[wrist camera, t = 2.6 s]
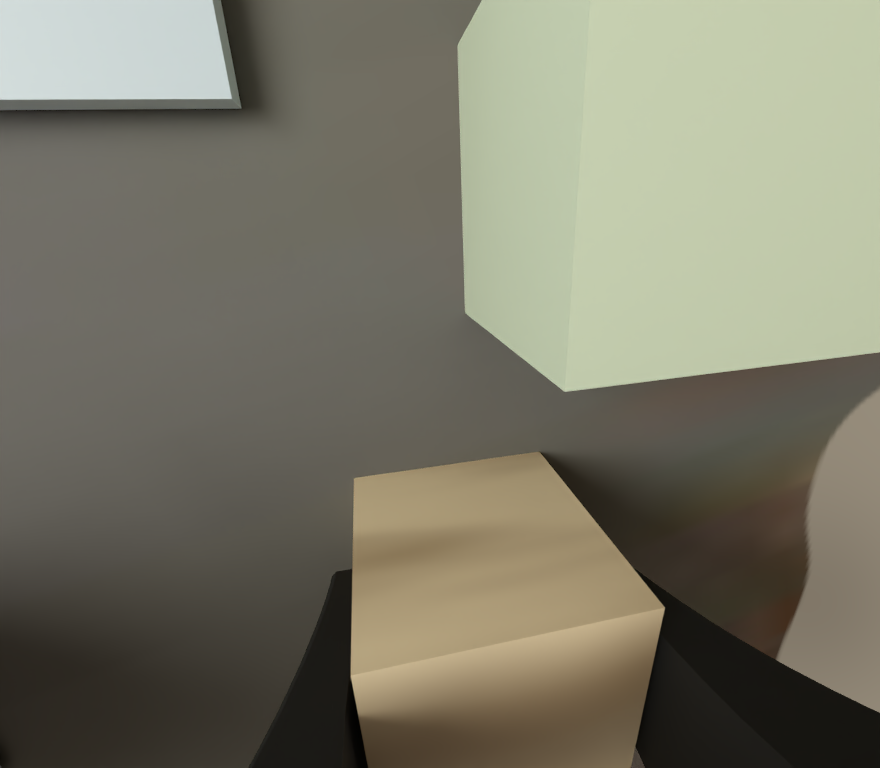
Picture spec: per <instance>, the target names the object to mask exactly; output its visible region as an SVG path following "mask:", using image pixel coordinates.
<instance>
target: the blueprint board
mask: <svg viewBox="0 0 880 768" xmlns="http://www.w3.org/2000/svg"><path fill="white" fill-rule="evenodd" d="M106 109H241V103H240V98H239V93H238V88H237V82H236V77H235V72H234V67H233V61H232V56H231V51H230V46H229V41H228V35H227V30H226V25H225V20H224V14H223V9H222V4H221V0H0V110H106Z"/></svg>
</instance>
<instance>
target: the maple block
mask: <svg viewBox="0 0 880 768" xmlns="http://www.w3.org/2000/svg"><path fill="white" fill-rule="evenodd" d="M664 610H665V607H664V606H663V605H662V603H661V602H660V601H659V600H658V598H657V597H656V596H655V595H654V594H653V592H652V591H651V590H650V589H649V587H648V586H647V585H646V584H645V582H644V581H643V580H642V579H641V577H640V576H639V575H638V574H637V572H636V571H635V570H634V569H633V567H632V566H631V565H630V564H629V562H628V561H627V560H626V559H625V557H624V556H623V555H622V554H621V552H620V551H619V550H618V549H617V548H616V546H615V545H614V544H613V543H612V541H611V540H610V539H609V538H608V536H607V535H606V534H605V533H604V531H603V530H602V529H601V528H600V526H599V525H598V524H597V523H596V521H595V520H594V519H593V518H592V516H591V515H590V514H589V513H588V511H587V510H586V509H585V508H584V506H583V505H582V504H581V503H580V502H579V500H578V499H577V498H576V497H575V495H574V494H573V493H572V492H571V490H570V489H569V488H568V487H567V485H566V484H565V483H564V482H563V480H562V479H561V478H560V477H559V475H558V474H557V473H556V472H555V470H554V469H553V468H552V467H551V465H550V464H549V463H548V462H547V460H546V459H545V458H544V457H543V456H542V454H541V453H540V452H533V453H526V454H519V455H512V456H505V457H498V458H491V459H484V460H477V461H470V462H463V463H456V464H449V465H442V466H435V467H428V468H422V469H415V470H408V471H401V472H394V473H387V474H380V475H373V476H366V477H359V478H354V511H353V569H352V627H351V680H352V685H353V691H354V696H355V701H356V706H357V712H358V717H359V722H360V727H361V733H362V738H363V743H364V748H365V754H366V759H367V764H368V768H631V764H632V759H633V755H634V750H635V745H636V741H637V736H638V731H639V727H640V722H641V717H642V713H643V708H644V703H645V699H646V694H647V689H648V685H649V680H650V675H651V670H652V666H653V661H654V656H655V652H656V647H657V642H658V638H659V633H660V628H661V624H662V619H663V614H664Z"/></svg>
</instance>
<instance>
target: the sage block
mask: <svg viewBox="0 0 880 768" xmlns="http://www.w3.org/2000/svg"><path fill="white" fill-rule="evenodd" d="M458 77H459V112H460V147H461V182H462V218H463V253H464V288H465V313H466V314H467V315H468V316H470V317H471V318H472V319H473V320H475V321H476V322H477V323H479V324H480V325H481V326H482V327H484V328H485V329H486V330H487V331H489V332H490V333H491V334H492V335H494V336H495V337H496V338H497V339H499V340H500V341H501V342H503V343H504V344H505V345H506V346H508V347H509V348H510V349H511V350H513V351H514V352H515V353H516V354H518V355H519V356H520V357H521V358H523V359H524V360H525V361H526V362H528V363H529V364H530V365H532V366H533V367H534V368H535V369H537V370H538V371H539V372H540V373H542V374H543V375H544V376H545V377H547V378H548V379H549V380H550V381H552V382H553V383H554V384H555V385H557V386H558V387H559V388H561V389H562V390H563V391H564V392H567V391H575V390H583V389H591V388H599V387H607V386H615V385H623V384H631V383H639V382H647V381H655V380H663V379H671V378H678V377H686V376H694V375H702V374H710V373H718V372H726V371H734V370H742V369H750V368H758V367H766V366H774V365H782V364H790V363H798V362H806V361H814V360H822V359H830V358H838V357H846V356H854V355H862V354H870V353H878V352H880V0H482V1H481V3H480V5H479V7H478V9H477V11H476V12H475V14H474V16H473V18H472V20H471V22H470V23H469V25H468V27H467V29H466V31H465V33H464V34H463V36H462V38H461V40H460V42H459V44H458Z"/></svg>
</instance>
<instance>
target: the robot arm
mask: <svg viewBox="0 0 880 768" xmlns="http://www.w3.org/2000/svg"><path fill="white" fill-rule="evenodd" d="M633 569H634V568H633ZM634 570H635V571H636V572H637V574H638V575H639V576H640V577H641V579H642V580H643V581H644V582H645V584H646V585H647V586H648V587H649V589H650V590H651V591H652V592H653V594H654V595H655V596H656V597H657V598H658V600H659V601H660V602H661V603H662V605H663V606H664V607H665V610H664V614H663V619H662V624H661V628H660V633H659V638H658V642H657V647H656V652H655V656H654V661H653V666H652V670H651V675H650V680H649V685H648V689H647V694H646V699H645V703H644V708H643V713H642V717H641V722H640V727H639V731H638V736H637V741H636V745H635V747H636V749H637V751H638V753H639V755H640V757H641V759H642V761H643V764H644V766H645V768H880V713H879V712H877V711H875V710H872V709H870V708H868V707H866V706H864V705H862V704H860V703H858V702H856V701H854V700H851V699H849V698H848V697H845V696H843V695H841V694H839V693H837V692H835V691H833V690H831V689H829V688H827V687H825V686H824V685H822V684H819V683H818V682H816V681H814V680H812V679H810V678H808V677H806V676H804V675H802V674H801V673H799V672H797V671H795V670H793V669H791V668H789V667H787V666H785V665H784V664H782V663H780V662H778V661H776V660H775V659H773V658H771V657H769V656H767V655H766V654H764V653H762V652H760V651H759V650H757V649H755V648H754V647H752V646H750V645H749V644H747V643H745V642H743V641H742V640H740V639H738V638H737V637H735V636H733V635H732V634H730V633H728V632H727V631H725V630H723V629H722V628H720V627H719V626H717V625H715V624H714V623H712V622H711V621H709V620H708V619H706V618H705V617H703V616H702V615H700V614H699V613H697V612H696V611H694V610H692V609H691V608H689V607H688V606H686V605H685V604H683V603H682V602H680V601H679V600H678V599H676V598H675V597H673V596H672V595H670V594H669V593H667V592H666V591H665V590H663V589H662V588H660V587H659V586H658V585H656V584H655V583H653V582H652V581H651V580H649V579H648V578H647V577H645V576H644V575H642V574H641V573H640V572H638V571H637V570H636V569H634ZM351 627H352V569H350V570H344V571H338V572H336V573H335V574H334V575H333V576H332V579H331V583H330V587H329V590H328V593H327V597H326V600H325V603H324V606H323V608H322V611H321V614H320V617H319V619H318V622H317V625H316V627H315V630H314V632H313V635H312V637H311V640H310V642H309V645H308V647H307V649H306V652H305V654H304V657H303V659H302V661H301V664H300V666H299V668H298V671H297V673H296V675H295V677H294V679H293V681H292V683H291V685H290V688H289V690H288V692H287V694H286V696H285V698H284V700H283V702H282V704H281V707H280V709H279V711H278V713H277V715H276V717H275V719H274V721H273V723H272V725H271V727H270V729H269V731H268V733H267V734H266V736H265V738H264V740H263V742H262V744H261V746H260V748H259V749H258V751H257V753H256V755H255V757H254V759H253V760H252V762H251V764H250V766H249V768H368V764H367V759H366V754H365V748H364V743H363V738H362V733H361V727H360V722H359V717H358V712H357V706H356V701H355V696H354V691H353V685H352V680H351ZM0 768H1V766H0Z"/></svg>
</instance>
